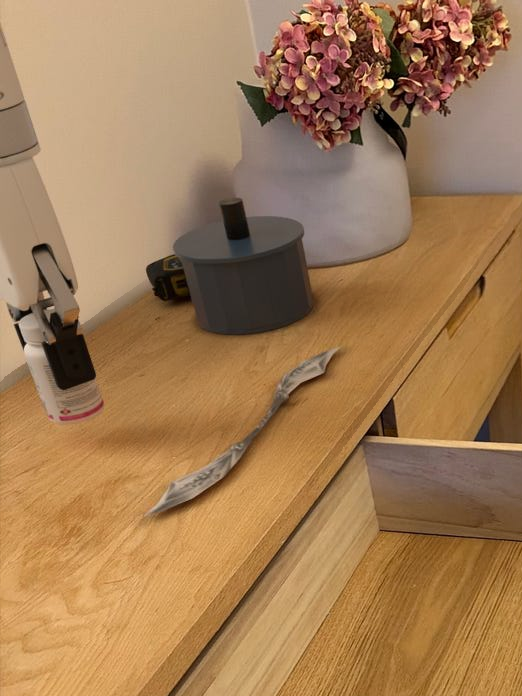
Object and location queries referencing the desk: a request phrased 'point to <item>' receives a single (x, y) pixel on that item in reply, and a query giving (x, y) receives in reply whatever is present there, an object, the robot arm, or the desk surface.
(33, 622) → the desk surface
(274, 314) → the pot
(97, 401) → the pill bottle
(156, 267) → the tape measure
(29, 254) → the robot arm
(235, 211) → the pot lid
